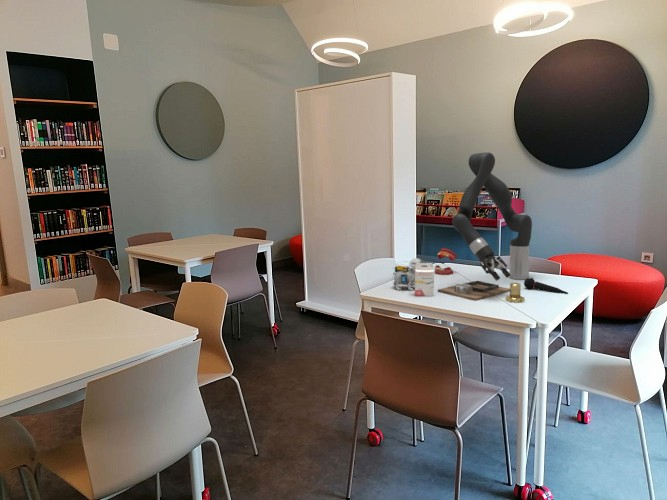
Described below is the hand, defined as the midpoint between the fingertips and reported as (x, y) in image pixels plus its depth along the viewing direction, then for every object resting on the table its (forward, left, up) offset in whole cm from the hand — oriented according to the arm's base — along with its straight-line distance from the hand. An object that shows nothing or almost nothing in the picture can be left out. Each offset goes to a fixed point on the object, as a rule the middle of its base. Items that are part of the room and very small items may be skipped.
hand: (503, 277), depth 220 cm
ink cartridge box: (+21, -27, -10) cm, 36 cm away
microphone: (-25, +5, -10) cm, 27 cm away
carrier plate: (-1, -16, -9) cm, 19 cm away
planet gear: (-1, +6, -9) cm, 11 cm away
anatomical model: (-22, -53, -10) cm, 58 cm away
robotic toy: (+17, -41, -10) cm, 46 cm away
